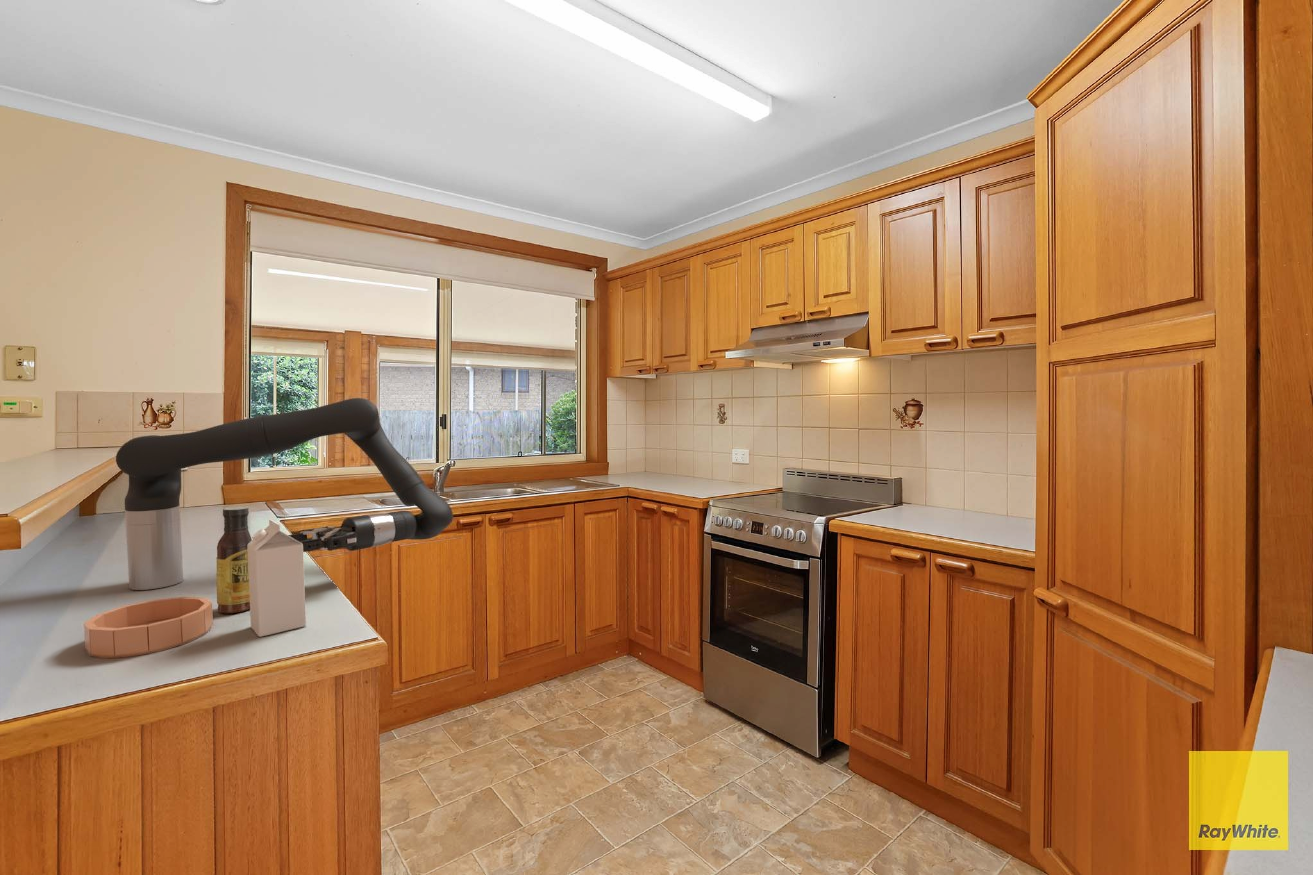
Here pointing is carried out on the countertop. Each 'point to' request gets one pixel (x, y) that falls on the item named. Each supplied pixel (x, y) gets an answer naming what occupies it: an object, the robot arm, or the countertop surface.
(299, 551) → the milk carton
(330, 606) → the countertop surface
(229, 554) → the sauce bottle
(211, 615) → the terracotta bowl
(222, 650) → the countertop surface
